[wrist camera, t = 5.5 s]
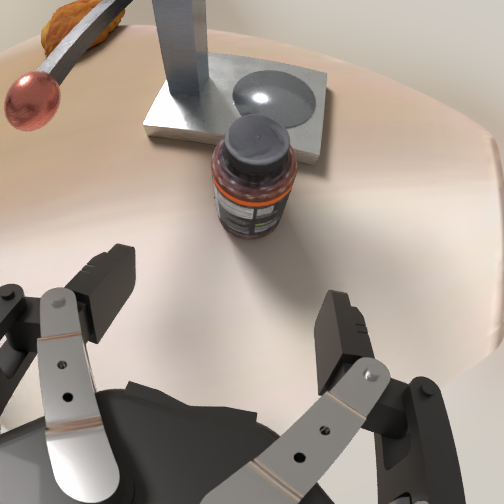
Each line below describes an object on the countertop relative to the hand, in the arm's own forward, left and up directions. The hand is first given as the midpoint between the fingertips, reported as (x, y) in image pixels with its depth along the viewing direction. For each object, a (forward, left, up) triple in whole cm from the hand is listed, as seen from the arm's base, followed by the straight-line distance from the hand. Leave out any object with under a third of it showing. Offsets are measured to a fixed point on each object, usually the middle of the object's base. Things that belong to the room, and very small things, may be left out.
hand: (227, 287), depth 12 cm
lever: (+15, +13, 0) cm, 20 cm away
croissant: (+37, +35, -14) cm, 53 cm away
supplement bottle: (+10, 0, -14) cm, 17 cm away
